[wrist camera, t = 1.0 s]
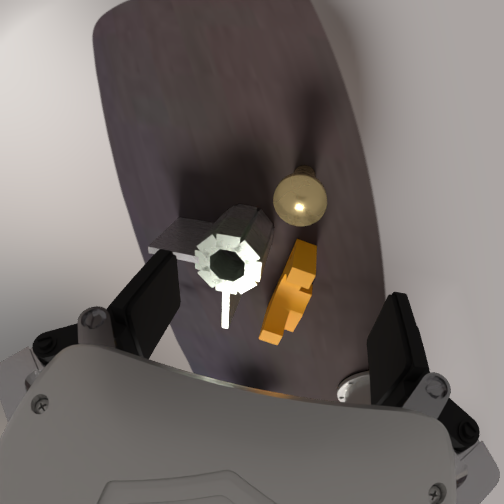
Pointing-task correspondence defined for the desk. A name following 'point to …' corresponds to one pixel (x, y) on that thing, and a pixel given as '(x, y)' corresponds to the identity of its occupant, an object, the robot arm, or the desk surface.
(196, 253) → the hinge
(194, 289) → the desk surface
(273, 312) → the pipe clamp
